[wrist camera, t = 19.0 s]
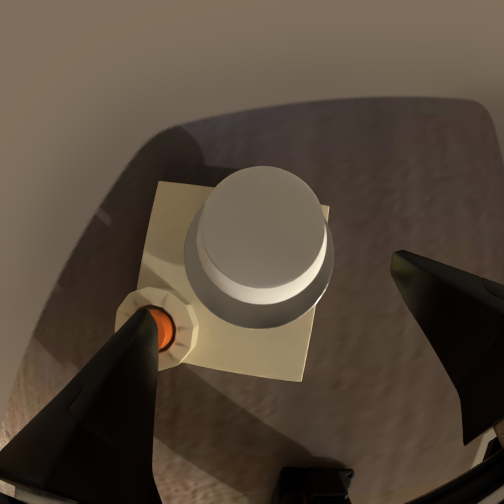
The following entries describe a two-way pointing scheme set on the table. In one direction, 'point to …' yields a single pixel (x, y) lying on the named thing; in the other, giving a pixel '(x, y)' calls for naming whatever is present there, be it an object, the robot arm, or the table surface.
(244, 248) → the supplement bottle
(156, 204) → the scale
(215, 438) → the table surface
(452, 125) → the table surface
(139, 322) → the robot arm
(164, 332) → the tare button
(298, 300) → the scale pan
